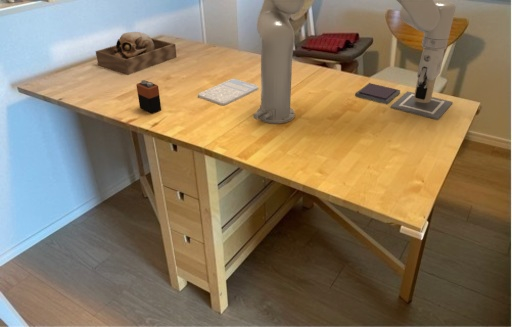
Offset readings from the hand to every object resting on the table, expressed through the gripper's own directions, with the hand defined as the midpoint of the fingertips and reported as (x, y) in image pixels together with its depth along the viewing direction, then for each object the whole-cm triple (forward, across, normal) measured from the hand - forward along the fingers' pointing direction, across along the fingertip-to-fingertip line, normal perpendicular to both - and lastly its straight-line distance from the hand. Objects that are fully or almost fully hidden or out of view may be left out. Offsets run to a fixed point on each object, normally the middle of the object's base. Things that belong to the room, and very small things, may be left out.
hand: (423, 95), depth 147 cm
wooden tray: (+4, -26, +116) cm, 119 cm away
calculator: (+5, -30, +61) cm, 68 cm away
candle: (+2, 0, 0) cm, 2 cm away
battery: (+5, -57, +73) cm, 92 cm away
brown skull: (+5, -28, +116) cm, 119 cm away
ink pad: (+4, 0, +16) cm, 16 cm away
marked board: (+4, 0, 0) cm, 4 cm away
